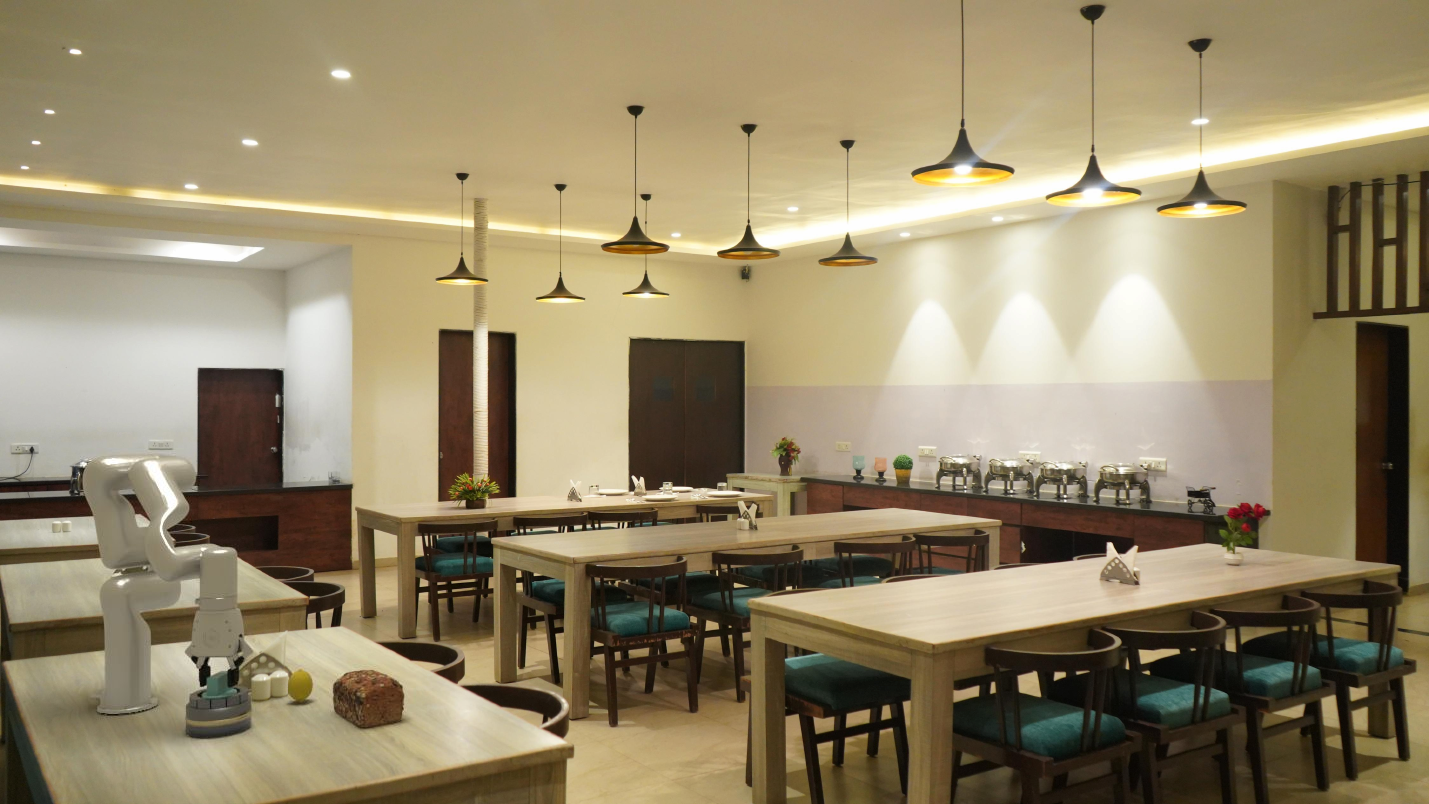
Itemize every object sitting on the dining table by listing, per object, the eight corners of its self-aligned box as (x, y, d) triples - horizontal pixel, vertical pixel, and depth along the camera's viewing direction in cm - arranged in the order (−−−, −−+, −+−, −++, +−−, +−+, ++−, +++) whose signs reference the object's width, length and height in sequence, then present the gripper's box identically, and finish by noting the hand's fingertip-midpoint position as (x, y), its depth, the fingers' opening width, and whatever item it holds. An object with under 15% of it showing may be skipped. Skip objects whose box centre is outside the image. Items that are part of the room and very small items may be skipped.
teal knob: (195, 705, 223) (195, 678, 223) (212, 697, 230) (212, 670, 230) (226, 706, 223) (226, 678, 223) (243, 697, 230) (242, 670, 230)
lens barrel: (172, 737, 221) (172, 700, 221) (207, 719, 234) (207, 684, 234) (230, 739, 219) (230, 701, 219) (263, 720, 233) (263, 685, 233)
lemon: (304, 706, 244) (303, 672, 244) (283, 705, 245) (283, 671, 245) (317, 699, 249) (317, 666, 249) (297, 698, 250) (296, 665, 250)
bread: (405, 721, 232) (405, 677, 232) (358, 731, 225) (357, 685, 225) (375, 703, 246) (375, 661, 246) (330, 711, 240) (330, 669, 240)
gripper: (171, 606, 224) (171, 689, 224) (246, 607, 222) (247, 691, 222) (191, 600, 231) (192, 680, 231) (264, 601, 230) (265, 681, 230)
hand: (219, 684), depth 227 cm, fingers open, 5 cm apart
